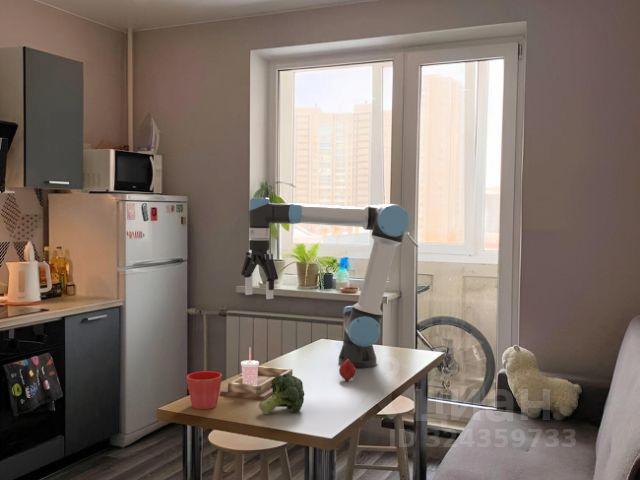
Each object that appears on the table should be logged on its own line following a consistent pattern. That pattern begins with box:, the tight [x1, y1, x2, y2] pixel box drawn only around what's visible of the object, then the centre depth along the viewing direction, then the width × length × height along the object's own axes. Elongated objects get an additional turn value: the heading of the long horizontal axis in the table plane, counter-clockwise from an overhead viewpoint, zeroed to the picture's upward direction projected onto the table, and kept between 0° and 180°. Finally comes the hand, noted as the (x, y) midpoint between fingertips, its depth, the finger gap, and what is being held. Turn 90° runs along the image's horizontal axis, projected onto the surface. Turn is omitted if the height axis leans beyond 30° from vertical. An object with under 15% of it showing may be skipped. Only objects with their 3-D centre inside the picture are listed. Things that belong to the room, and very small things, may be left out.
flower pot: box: [186, 370, 223, 410], centre depth 208 cm, size 11×11×10 cm
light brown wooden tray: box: [219, 365, 293, 401], centre depth 229 cm, size 16×26×4 cm, turn 160°
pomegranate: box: [338, 359, 356, 382], centre depth 238 cm, size 6×6×8 cm
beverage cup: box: [240, 347, 260, 385], centre depth 222 cm, size 6×6×14 cm
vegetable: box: [258, 373, 306, 416], centre depth 202 cm, size 12×13×15 cm
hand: (259, 296), depth 246 cm, fingers open, 13 cm apart
